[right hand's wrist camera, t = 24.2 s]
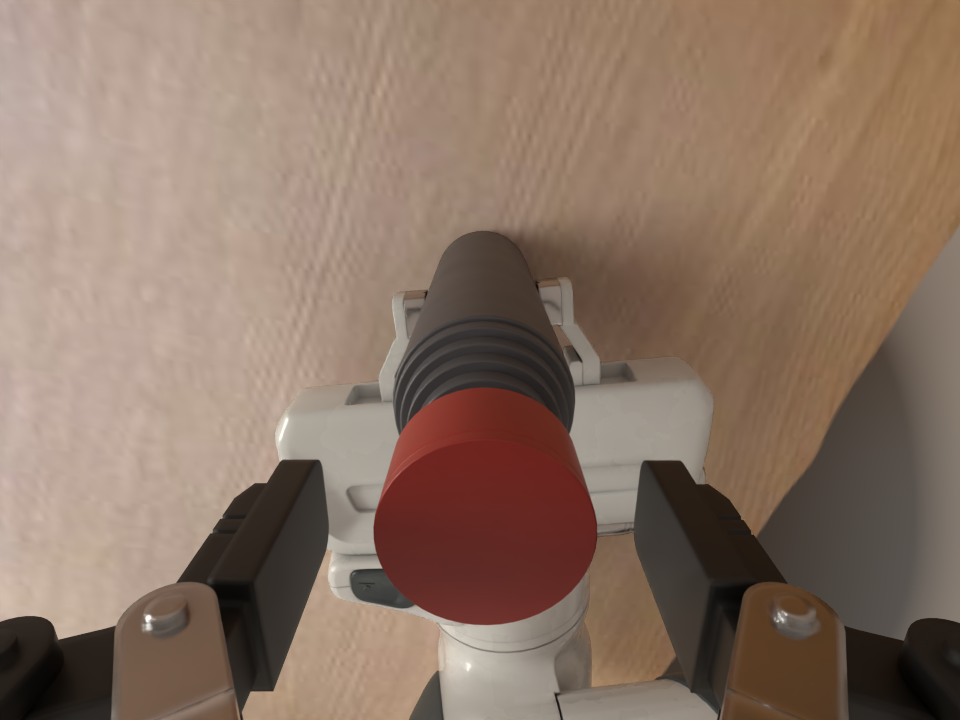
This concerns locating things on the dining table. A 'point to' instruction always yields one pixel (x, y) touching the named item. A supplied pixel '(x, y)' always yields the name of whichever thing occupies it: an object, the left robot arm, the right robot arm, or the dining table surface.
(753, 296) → the dining table surface
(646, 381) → the left robot arm
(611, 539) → the dining table surface
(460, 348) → the bottle
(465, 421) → the cap
